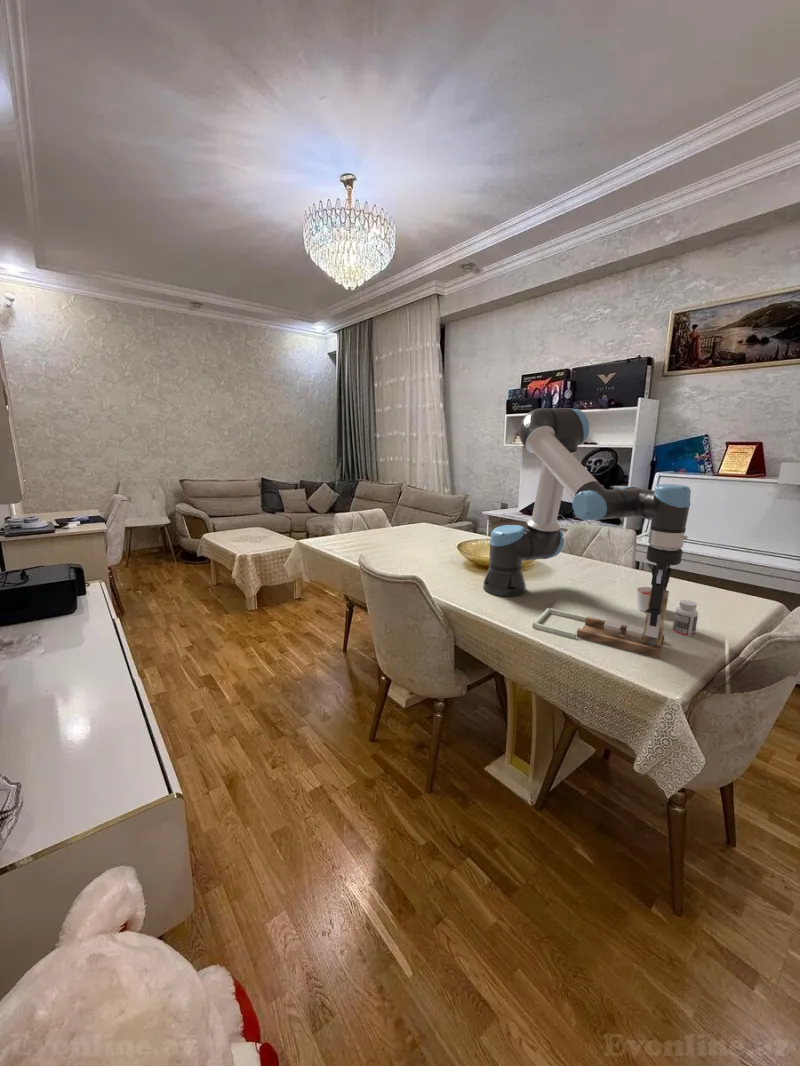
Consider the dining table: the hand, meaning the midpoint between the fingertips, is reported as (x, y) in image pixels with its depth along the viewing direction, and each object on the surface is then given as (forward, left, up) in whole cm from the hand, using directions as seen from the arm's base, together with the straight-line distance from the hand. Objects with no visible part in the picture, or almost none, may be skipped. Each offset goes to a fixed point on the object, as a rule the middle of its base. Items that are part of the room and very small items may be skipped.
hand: (653, 630), depth 113 cm
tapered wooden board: (0, 0, -3) cm, 3 cm away
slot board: (-8, 0, -6) cm, 9 cm away
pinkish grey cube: (-4, 0, -5) cm, 6 cm away
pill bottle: (+6, +16, -6) cm, 18 cm away
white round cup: (-4, +30, -6) cm, 31 cm away
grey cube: (-10, 0, -5) cm, 11 cm away
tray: (-24, 0, -6) cm, 24 cm away
